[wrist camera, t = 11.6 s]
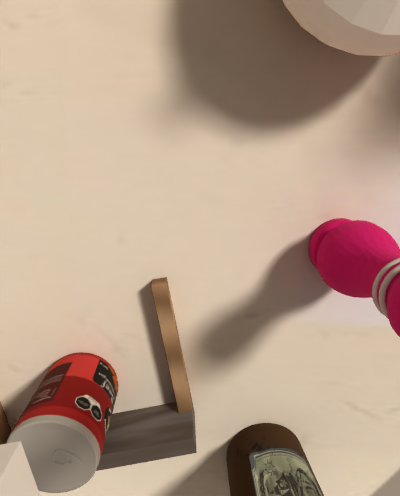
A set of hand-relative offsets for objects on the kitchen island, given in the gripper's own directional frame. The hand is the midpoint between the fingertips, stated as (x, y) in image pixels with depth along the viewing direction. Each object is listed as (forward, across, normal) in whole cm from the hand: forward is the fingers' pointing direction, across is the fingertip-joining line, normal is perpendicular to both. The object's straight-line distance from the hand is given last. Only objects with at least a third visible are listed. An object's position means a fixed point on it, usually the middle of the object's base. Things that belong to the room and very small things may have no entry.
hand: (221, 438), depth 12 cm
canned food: (+27, -15, -14) cm, 34 cm away
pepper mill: (+27, +15, -3) cm, 31 cm away
